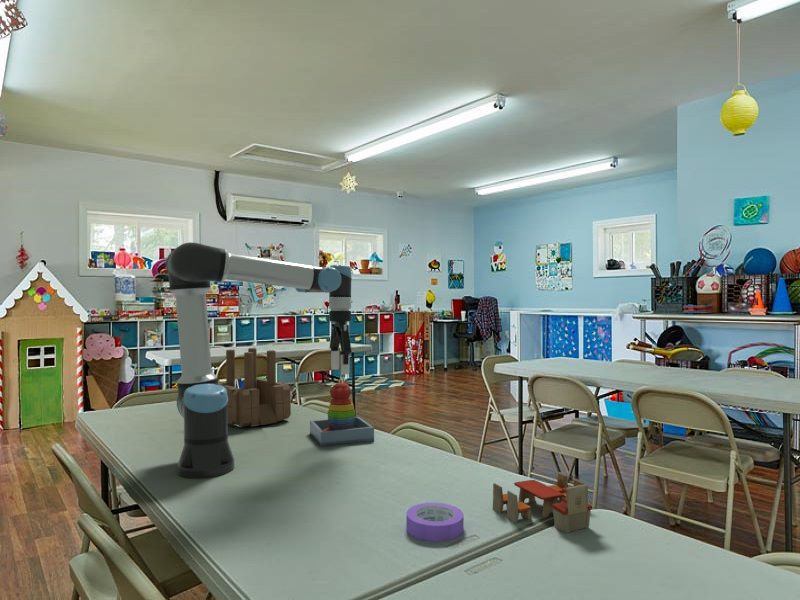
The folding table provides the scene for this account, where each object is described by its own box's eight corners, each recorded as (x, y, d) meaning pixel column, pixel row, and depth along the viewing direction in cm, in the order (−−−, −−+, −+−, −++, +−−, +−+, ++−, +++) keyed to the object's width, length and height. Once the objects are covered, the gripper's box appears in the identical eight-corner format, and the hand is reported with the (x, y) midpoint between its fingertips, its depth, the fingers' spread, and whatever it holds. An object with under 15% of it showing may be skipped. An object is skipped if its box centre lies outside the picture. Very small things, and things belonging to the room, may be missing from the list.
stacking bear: (341, 428, 193) (341, 379, 193) (362, 433, 186) (361, 381, 186) (319, 434, 185) (318, 383, 184) (339, 439, 178) (339, 385, 178)
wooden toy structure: (241, 428, 198) (241, 355, 198) (207, 416, 220) (207, 349, 220) (295, 419, 214) (294, 350, 214) (258, 408, 236) (257, 346, 236)
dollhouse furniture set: (556, 497, 129) (556, 456, 129) (616, 527, 111) (616, 480, 111) (488, 509, 121) (487, 466, 121) (541, 544, 104) (540, 494, 104)
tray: (374, 440, 180) (374, 427, 180) (321, 446, 174) (320, 432, 174) (358, 428, 197) (358, 416, 197) (310, 433, 190) (309, 420, 190)
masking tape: (474, 530, 110) (474, 511, 110) (440, 550, 102) (439, 530, 102) (430, 515, 118) (430, 498, 118) (394, 532, 110) (394, 514, 110)
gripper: (361, 310, 175) (360, 375, 175) (341, 309, 198) (341, 367, 198) (338, 310, 172) (338, 376, 172) (321, 309, 195) (321, 367, 195)
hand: (339, 371), depth 185 cm, fingers open, 13 cm apart
